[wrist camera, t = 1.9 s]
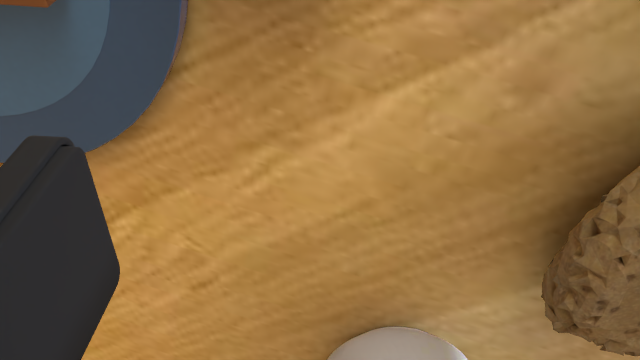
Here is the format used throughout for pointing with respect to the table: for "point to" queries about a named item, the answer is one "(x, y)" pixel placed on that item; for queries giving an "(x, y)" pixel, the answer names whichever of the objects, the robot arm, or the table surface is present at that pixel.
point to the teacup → (396, 346)
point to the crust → (28, 3)
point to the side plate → (83, 67)
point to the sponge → (600, 274)
